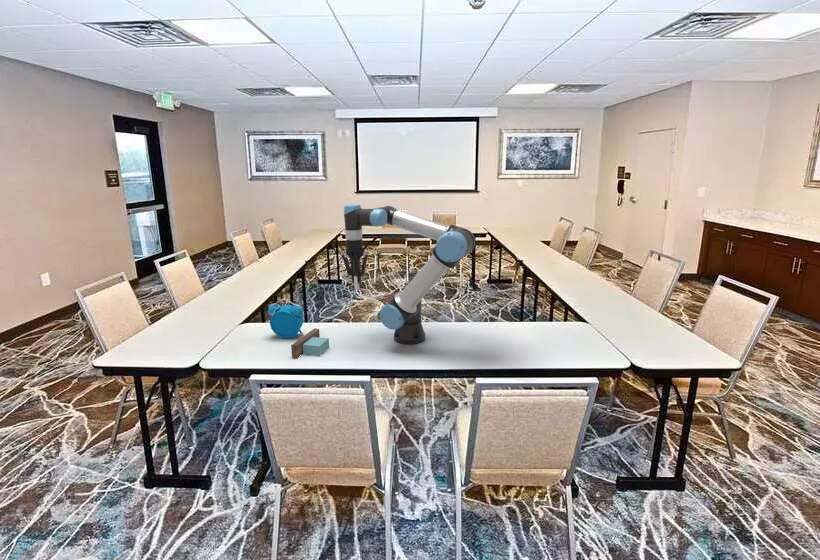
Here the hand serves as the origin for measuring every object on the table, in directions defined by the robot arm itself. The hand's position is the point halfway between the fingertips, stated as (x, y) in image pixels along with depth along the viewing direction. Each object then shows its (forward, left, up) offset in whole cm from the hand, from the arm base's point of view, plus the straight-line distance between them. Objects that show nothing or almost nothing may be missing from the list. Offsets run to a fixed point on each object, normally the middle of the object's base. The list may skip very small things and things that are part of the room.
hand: (357, 289), depth 217 cm
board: (+20, +14, -26) cm, 35 cm away
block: (+14, +15, -26) cm, 33 cm away
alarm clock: (+36, +2, -26) cm, 44 cm away
